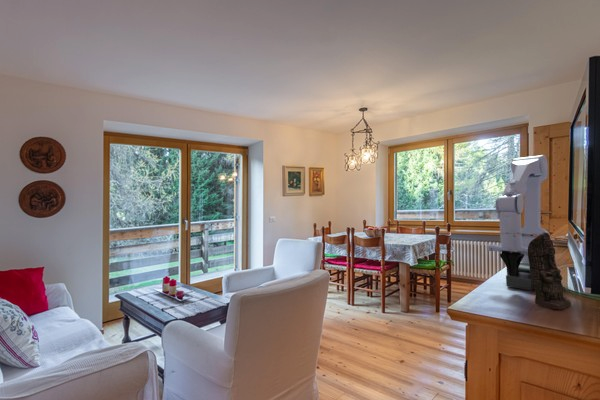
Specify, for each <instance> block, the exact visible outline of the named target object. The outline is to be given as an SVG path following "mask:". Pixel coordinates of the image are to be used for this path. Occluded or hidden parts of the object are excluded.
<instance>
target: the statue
mask: <svg viewBox="0 0 600 400" xmlns="http://www.w3.org/2000/svg"><path fill="white" fill-rule="evenodd" d="M549 234H550V233H549ZM549 234H548V233H545V232H543V233H541V234H540V235H536V236H537V237H535V238H534V239H533V240H532V241H531V242H530V243H529V246H528V259H529V266H530V274H531V279H532V283H533V287H534V289H533V290H534V291H535V293H534V295H535V297H534V303H535V305H538V306H539V307H540V306H541V307H545V308H548V309H553V310H559V311H560V310H564V309H566V308H568V307H571V306H572V301H571V300H568V299H567V298H566V297H564V291H565V290H564V287H563V283H562V280H563V276H562V275H561V272H562V271H561V269H559V268H558V266H557V261H556V249H555V246H554V241H553V240H552V239H551V234H550V235H549ZM550 239H551V240H550Z"/></svg>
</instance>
